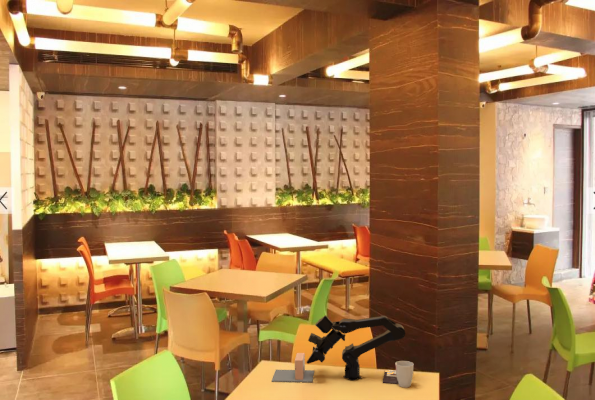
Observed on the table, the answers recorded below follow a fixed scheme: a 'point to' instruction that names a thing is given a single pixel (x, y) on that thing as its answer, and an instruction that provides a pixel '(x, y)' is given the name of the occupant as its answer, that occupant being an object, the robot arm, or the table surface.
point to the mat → (292, 376)
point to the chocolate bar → (390, 377)
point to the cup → (404, 373)
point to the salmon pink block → (299, 366)
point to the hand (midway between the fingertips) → (307, 362)
